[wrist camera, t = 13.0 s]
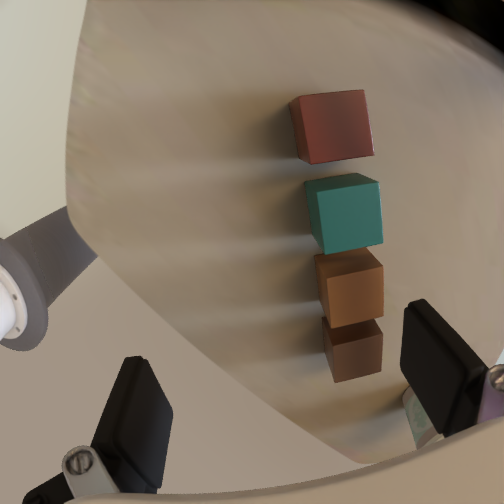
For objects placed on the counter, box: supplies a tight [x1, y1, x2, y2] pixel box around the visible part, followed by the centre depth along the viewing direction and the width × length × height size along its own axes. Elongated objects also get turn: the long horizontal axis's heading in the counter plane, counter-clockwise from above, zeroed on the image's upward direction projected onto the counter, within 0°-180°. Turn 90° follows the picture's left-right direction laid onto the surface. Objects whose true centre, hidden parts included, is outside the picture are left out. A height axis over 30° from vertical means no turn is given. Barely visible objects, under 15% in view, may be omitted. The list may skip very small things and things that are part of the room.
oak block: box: [314, 247, 384, 328], centre depth 28 cm, size 5×5×5 cm
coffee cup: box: [402, 386, 445, 449], centre depth 32 cm, size 8×8×12 cm
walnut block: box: [322, 317, 383, 383], centre depth 31 cm, size 5×5×5 cm
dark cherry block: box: [289, 90, 374, 165], centre depth 23 cm, size 5×5×5 cm
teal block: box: [304, 173, 383, 255], centre depth 26 cm, size 5×5×5 cm
